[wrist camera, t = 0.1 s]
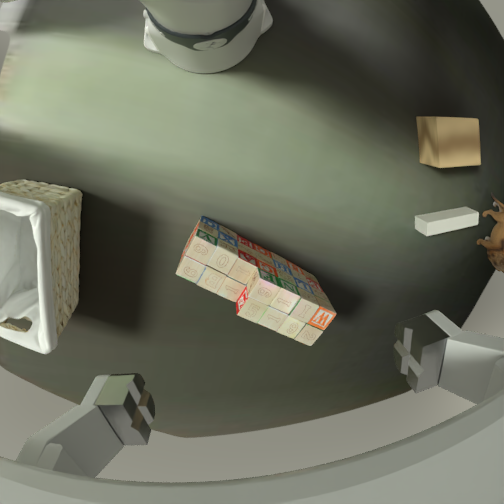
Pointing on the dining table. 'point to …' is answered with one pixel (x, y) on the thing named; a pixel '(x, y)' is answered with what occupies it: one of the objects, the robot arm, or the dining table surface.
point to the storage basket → (38, 260)
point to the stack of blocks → (256, 282)
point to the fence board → (446, 220)
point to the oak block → (448, 141)
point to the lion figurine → (495, 237)
